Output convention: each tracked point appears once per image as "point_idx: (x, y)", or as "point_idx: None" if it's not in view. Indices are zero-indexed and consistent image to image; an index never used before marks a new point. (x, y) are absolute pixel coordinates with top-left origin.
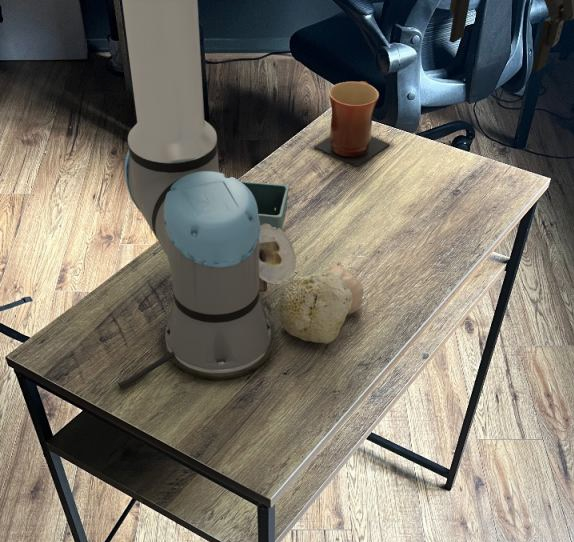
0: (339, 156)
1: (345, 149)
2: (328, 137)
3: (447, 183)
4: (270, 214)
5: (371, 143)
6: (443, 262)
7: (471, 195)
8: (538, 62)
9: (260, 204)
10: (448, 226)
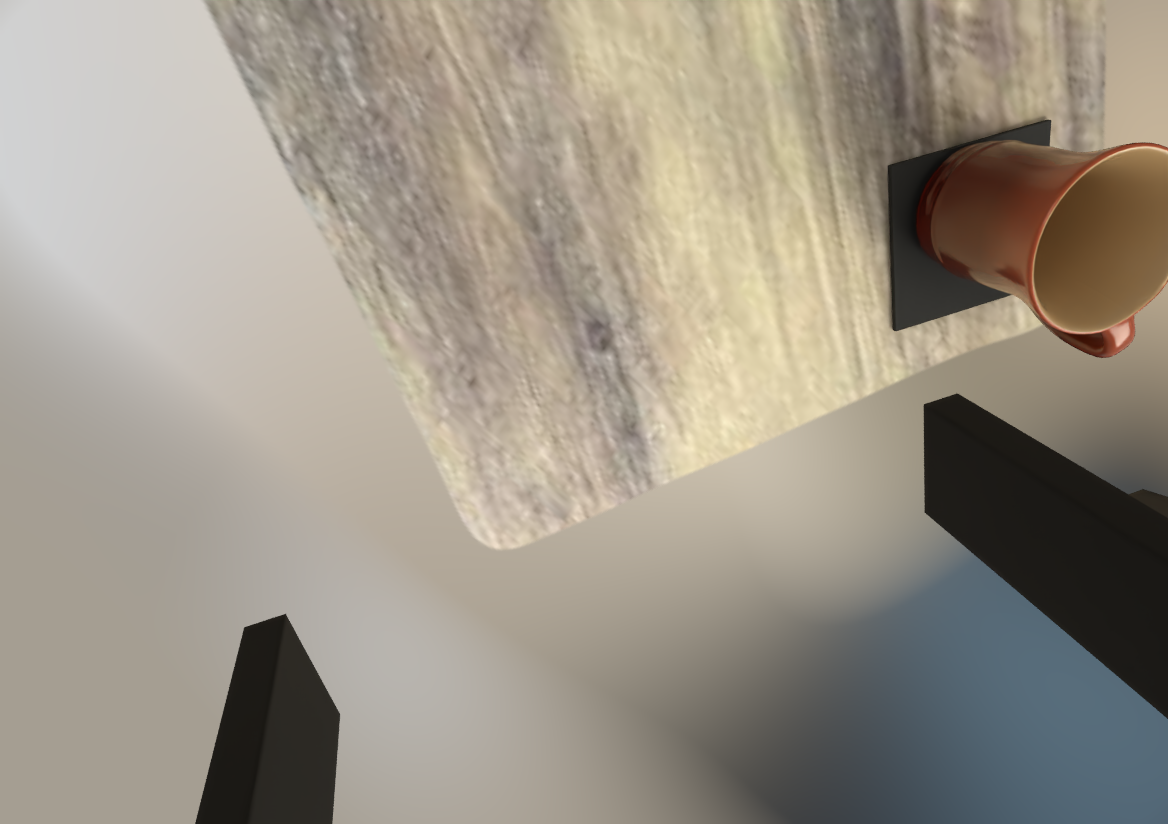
0: None
1: (964, 156)
2: None
3: (650, 346)
4: None
5: (934, 287)
6: (309, 7)
7: (561, 366)
8: (237, 678)
9: None
10: (474, 186)
